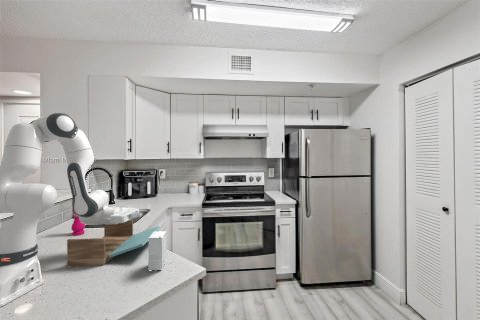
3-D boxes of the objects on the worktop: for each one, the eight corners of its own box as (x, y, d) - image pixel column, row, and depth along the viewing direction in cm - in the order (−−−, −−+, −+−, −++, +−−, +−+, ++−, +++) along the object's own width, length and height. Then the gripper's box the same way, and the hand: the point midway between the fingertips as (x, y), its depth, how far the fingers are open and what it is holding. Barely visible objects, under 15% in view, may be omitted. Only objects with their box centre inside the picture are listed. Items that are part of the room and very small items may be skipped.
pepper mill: (69, 234, 144) (68, 203, 144) (81, 231, 150) (81, 201, 150) (75, 236, 140) (74, 204, 140) (87, 233, 147) (87, 202, 147)
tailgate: (109, 259, 104) (143, 247, 105) (108, 255, 104) (141, 243, 105) (134, 238, 132) (160, 229, 133) (133, 234, 132) (159, 225, 133)
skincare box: (153, 263, 103) (153, 231, 103) (166, 262, 104) (166, 230, 104) (147, 272, 95) (147, 237, 95) (162, 271, 96) (162, 236, 96)
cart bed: (104, 265, 102) (104, 238, 102) (67, 266, 101) (67, 240, 101) (133, 239, 134) (132, 219, 134) (105, 240, 133) (105, 220, 133)
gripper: (103, 213, 107) (133, 212, 108) (123, 206, 127) (148, 205, 128) (103, 226, 106) (133, 225, 107) (123, 217, 127) (148, 216, 128)
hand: (141, 214), depth 118 cm, fingers closed
